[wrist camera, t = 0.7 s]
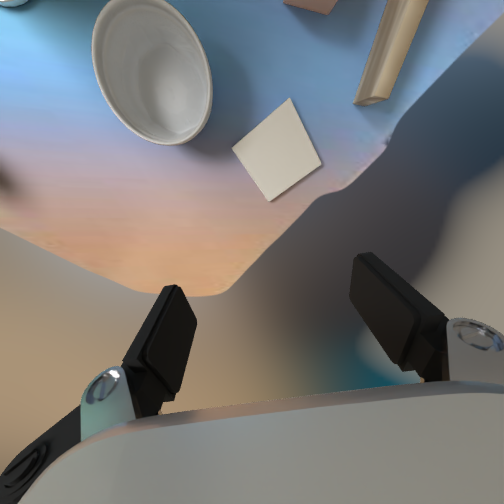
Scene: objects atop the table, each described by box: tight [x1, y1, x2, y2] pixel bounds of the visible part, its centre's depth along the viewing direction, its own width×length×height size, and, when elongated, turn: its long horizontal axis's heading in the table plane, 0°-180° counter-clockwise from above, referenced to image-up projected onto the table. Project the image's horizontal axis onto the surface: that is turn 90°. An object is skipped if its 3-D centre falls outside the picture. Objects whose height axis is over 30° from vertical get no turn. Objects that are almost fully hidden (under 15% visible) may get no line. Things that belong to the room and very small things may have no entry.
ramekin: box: [91, 0, 213, 146], centre depth 24 cm, size 13×13×7 cm
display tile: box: [232, 98, 321, 202], centre depth 31 cm, size 11×11×1 cm
